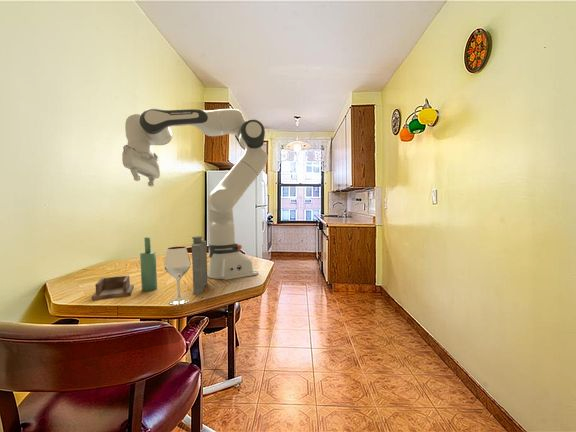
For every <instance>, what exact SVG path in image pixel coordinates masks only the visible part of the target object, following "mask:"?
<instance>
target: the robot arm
mask: <svg viewBox="0 0 576 432" xmlns="http://www.w3.org/2000/svg"><path fill="white" fill-rule="evenodd" d="M124 125H125V137H126V140H127V144H125V145H124V146H123V147H122V149H123V151H122V154H121V156H122V158H121V159H122V161H121V162H122V165H123V167H124V168H126V169H128V170H130V173H131V175H132V177H133V180H134V181H135V182H140V181H141V176H140V175H142V176H144V177H146V178H147V179H148V180H149V181H147V186H148V187H150V188H152V187H154V186H155V183H154V182H155V180H156V179H159V178H160V176H161V175H160V174H161V173H160V172H161V171H160V165H159V162H158V161H159V156H158V155H157V154H156V152H154V150H153V149H152V147H151V146H166V145H167V144H170V142H171V140H172V139H173V132H172V130H171V127H180V126H181V127H183V126H185V127H186V126H191V127H195V128H196V129H198V130H199V131H200V132H201V133H202V134H203V135H206V136H208V137H220V136H226V135H234V137H235V139H236V141H237V143H238V144H239V146H240V147H241V148H242V149H243V150H244V153H243V155H242V156H241V157H240V158H239V159H238V160H237V162H236V163H235V164H234V165H233V166H232V168H231V169H230V170H229V171H228V172H227V173H226V174H225V176H224V177H223V179H221V180H220V181H219V183H218V184H217V185H216V186H215V188H214V189H213V190H212V191H211V192H210V194H209V195H208V198H207V210H208V211H207V212H208V215H207V216H208V230H209V231H208V232H209V237H208V238H209V244H208V257H209V264H208V265H209V266H208V269H207V275H208V279H215V280H216V279H218V280H226V281H227V280H233V279H239V278H245V277H250V276H251V277H252V276H257V275H258V274H259V271H258V270H257V269H256V268H255V267H254V266H253V262H252V260H251V259H250V258H249V257H248V256H246V255H245V254H244V253H243V252H241V251H240V250H242V244H237V243H236V240H235V239H236V237H235V236H236V235H235V223H234V220H235V219H234V214H233V213H234V211H233V208H234V207H235V205H236V204H237V203H238V202H239V200H240V199H241V198H242V197H243V195H244V194H245V192H246V191H247V190H248V189H249V187H250V186H251V185H252V183H253V182H254V181H255V180H256V179H257V178H258V176H260V174H261V173H262V171H263V169H264V167H265V166H266V164H267V163H268V161H269V155H268V153H267V151H266V150H265V149H264V148H263V145H264V141H265V135H266V131H265V127H264V124H263V123H262V122H260V121H259V120H258V119H255V118H253V119H248V120H245V117H244V114H243V113H242V111H241V110H240V109H237V108H222V109H221V108H220V109H213V110H202V109H198V108H197V109H196V108H195V109H194V108H193V109H192V108H191V109H189V108H188V109H169V110H165V109H160V108H155V107H153V108H151V107H150V108H148V109H147V108H146V110H144V111H143V112H142V113H141V114H140V113H136V114H131V115H129V116H128V117H127V118H126V119H125V124H124Z"/></svg>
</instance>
